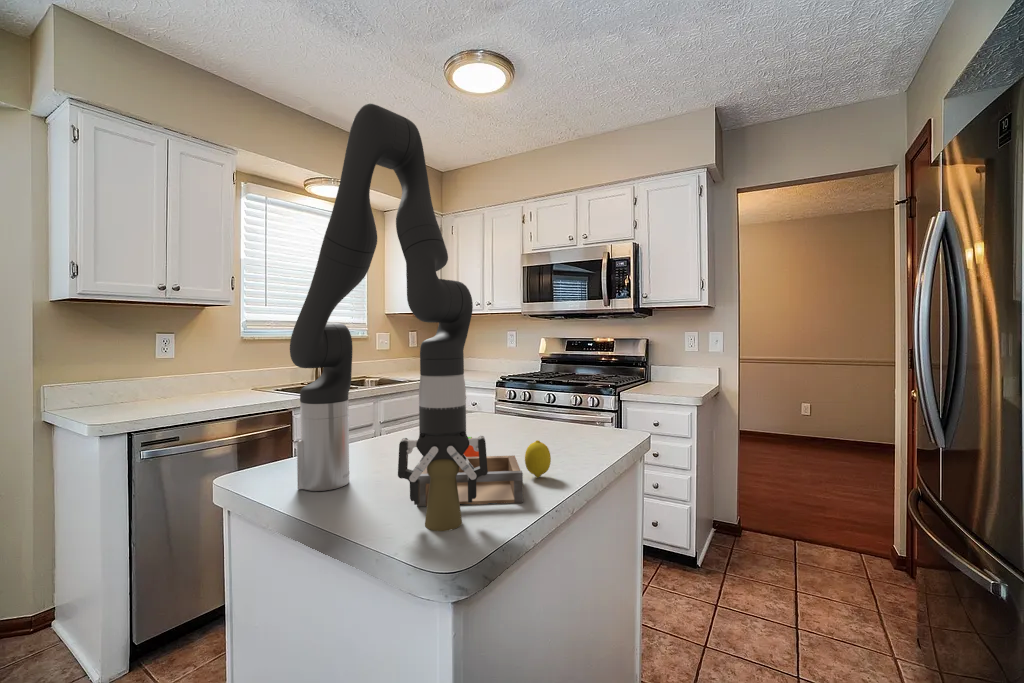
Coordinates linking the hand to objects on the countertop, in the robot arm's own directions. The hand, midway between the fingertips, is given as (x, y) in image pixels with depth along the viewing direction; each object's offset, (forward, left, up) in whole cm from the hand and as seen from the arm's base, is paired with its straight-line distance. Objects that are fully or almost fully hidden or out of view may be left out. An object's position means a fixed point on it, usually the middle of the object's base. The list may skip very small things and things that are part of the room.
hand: (443, 502), depth 78 cm
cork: (0, 0, -4) cm, 4 cm away
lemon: (+19, +23, -4) cm, 30 cm away
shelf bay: (+4, +15, -4) cm, 16 cm away
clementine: (+4, +33, -4) cm, 34 cm away
